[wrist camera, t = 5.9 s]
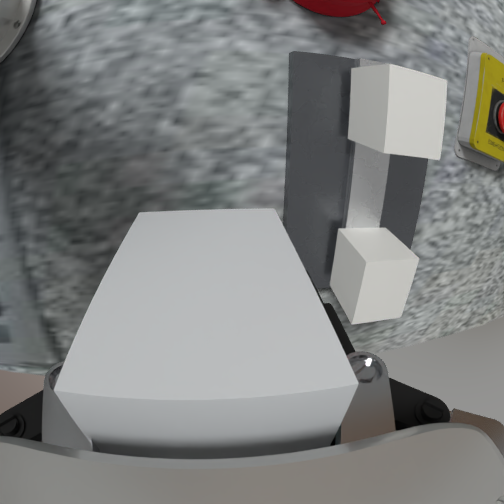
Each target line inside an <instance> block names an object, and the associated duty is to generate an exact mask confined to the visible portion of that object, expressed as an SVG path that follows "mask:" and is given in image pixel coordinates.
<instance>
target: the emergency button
mask: <svg viewBox="0 0 504 504" xmlns="http://www.w3.org/2000/svg"><path fill="white" fill-rule="evenodd" d="M454 151H455V154H456V155H457V156H458V157H461V158H463V159H466V160H469V161H471V162H474V163H476V164H479V165H481V166H484V167H486V168H489V169H491V170H493V171H497V170H498V169H499V167H500V164H501V162H503V163H504V57H502V56H501V55H500V54H499V53H497V52H496V51H495V50H493V49H492V48H490V47H489V46H488V45H486V44H485V43H483V42H482V41H481V40H479V39H478V38H476V37H474V36H472V37H470V39H469V45H468V59H467V70H466V79H465V87H464V95H463V101H462V108H461V114H460V120H459V125H458V131H457V136H456V140H455V146H454Z"/></svg>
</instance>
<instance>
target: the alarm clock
mask: <svg viewBox="0 0 504 504" xmlns="http://www.w3.org/2000/svg"><path fill="white" fill-rule="evenodd" d="M293 1H295V2H296V3H298V4H299V5H301V6H303V7H305V8H307V9H309V10H311V11H313V12H316V13H319V14H323V15H327V16H334V17H348V16H354V15H357V14H360V13H362V12H365V11H366V10H368V9H370V8H372V9H373V11H374V12H375V13H376V14H377V16H378V17H379V19H380V20H381V24H382V25H384V24H386V21H384V20H383V19H382V17H381V16H380V14H379V13H378V11H377V9H376V8H375V6H374V4H375V3H376V2H378V3H379V1H380V0H293Z"/></svg>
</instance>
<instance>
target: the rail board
mask: <svg viewBox="0 0 504 504" xmlns="http://www.w3.org/2000/svg"><path fill="white" fill-rule="evenodd" d="M383 64H385V63H380V62H376V61H371V60H366V59H361V58H359V59H350V58H344V57H338V56H331V55H324V54H316V53H307V52H297V51H293V52H291V53H289V88H288V123H287V150H286V174H285V195H284V214H283V226H284V228H285V230H286V232H287V234H288V236H289V238H290V240H291V242H292V244H293V246H294V248H295V250H296V252H297V254H298V256H299V258H300V260H301V262H302V264H303V266H304V268H305V269H306V270H307V271H308V273H309V275H310V277H311V279H312V281H313V283H314V285H315V287H316V288H328V287H330V280H331V274H332V268H333V261H334V255H335V248H336V241H337V234H338V229H340V228H387V229H388V230H389V231H390V232H391V233H392V234H393V235H394V236H396V237H397V238H398V239H399V240H400V241H401V242H402V243H403V244H404V245H405V246H407V247H408V248H409V249H411V245H412V241H413V236H414V232H415V228H416V223H417V218H418V214H419V209H420V204H421V198H422V193H423V187H424V182H425V176H426V169H427V162H428V158H421V157H413V156H405V155H396V154H387V153H382V152H380V151H377V150H375V149H372V148H370V147H367V146H365V145H362V144H360V143H357V142H355V141H352V140H349V139H348V128H349V112H350V93H351V68H357V67H365V66H373V65H383Z"/></svg>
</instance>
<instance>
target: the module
mask: <svg viewBox="0 0 504 504" xmlns="http://www.w3.org/2000/svg"><path fill="white" fill-rule="evenodd" d="M358 384H359V383H358V381H357V378H356V376H355V374H354V372H353V369H352V367H351V365H350V363H349V361H348V358H347V356H346V354H345V352H344V350H343V348H342V345H341V343H340V341H339V339H338V337H337V335H336V332H335V330H334V328H333V326H332V324H331V322H330V320H329V318H328V315H327V313H326V311H325V309H324V307H323V305H322V303H321V301H320V299H319V297H318V295H317V293H316V290H315V288H314V286H313V284H312V282H311V280H310V278H309V276H308V274H307V272H306V270H305V268H304V266H303V264H302V262H301V260H300V258H299V256H298V254H297V252H296V250H295V248H294V246H293V244H292V242H291V240H290V238H289V236H288V234H287V232H286V230H285V228H284V226H283V224H282V222H281V220H280V218H279V217H278V215H277V213H276V211H275V209H274V208H273V209H215V210H184V211H159V212H139V214H138V216H137V217H136V219H135V221H134V222H133V224H132V226H131V228H130V229H129V231H128V233H127V235H126V236H125V238H124V240H123V242H122V243H121V245H120V247H119V249H118V251H117V253H116V254H115V256H114V258H113V260H112V262H111V264H110V266H109V268H108V269H107V271H106V273H105V275H104V277H103V279H102V281H101V283H100V285H99V287H98V289H97V291H96V293H95V295H94V297H93V299H92V301H91V303H90V305H89V307H88V310H87V312H86V314H85V316H84V318H83V320H82V323H81V325H80V327H79V329H78V331H77V334H76V336H75V338H74V341H73V343H72V345H71V348H70V350H69V352H68V355H67V357H66V360H65V362H64V365H63V367H62V370H61V372H60V375H59V377H58V380H57V383H56V385H55V388H54V391H55V393H56V395H57V396H58V398H59V399H60V401H61V402H62V404H63V405H64V407H65V408H66V410H67V411H68V413H69V414H70V416H71V417H72V419H73V420H74V421H75V423H76V424H77V426H78V427H79V428H80V430H81V431H82V432H83V434H84V435H85V436H86V438H89V439H92V440H93V442H94V443H95V444H96V446H97V447H98V448H99V449H100V453H106V454H114V455H123V456H133V457H145V458H162V459H228V458H245V457H258V456H268V455H277V454H286V453H293V452H300V451H307V450H313V449H319V448H324V447H329V446H330V445H331V443H332V441H333V439H334V437H335V435H336V433H337V431H338V428H339V426H340V424H341V422H342V420H343V418H344V416H345V414H346V412H347V409H348V407H349V405H350V403H351V400H352V398H353V396H354V394H355V391H356V389H357V387H358Z"/></svg>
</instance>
